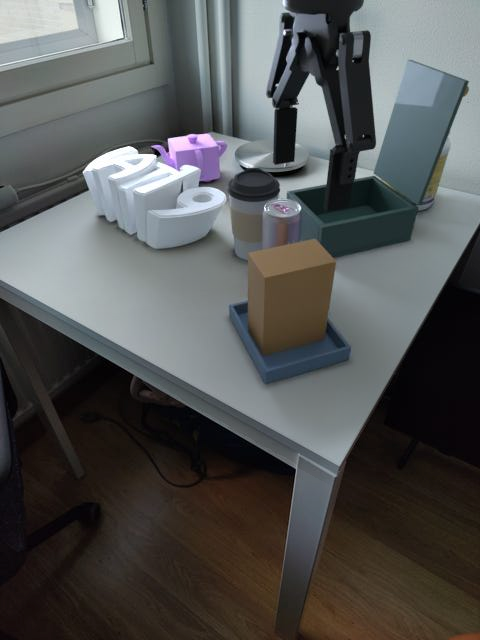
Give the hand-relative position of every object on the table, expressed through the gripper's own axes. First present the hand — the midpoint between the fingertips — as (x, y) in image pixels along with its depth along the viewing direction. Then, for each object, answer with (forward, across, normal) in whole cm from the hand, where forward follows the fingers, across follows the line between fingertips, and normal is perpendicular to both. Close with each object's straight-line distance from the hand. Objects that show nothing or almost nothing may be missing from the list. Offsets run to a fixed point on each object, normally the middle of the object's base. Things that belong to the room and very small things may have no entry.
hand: (307, 183), depth 55 cm
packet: (+24, 0, -2) cm, 24 cm away
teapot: (+24, -59, +1) cm, 64 cm away
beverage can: (+24, -11, +2) cm, 27 cm away
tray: (+24, +1, -2) cm, 24 cm away
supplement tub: (+24, -30, +42) cm, 57 cm away
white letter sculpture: (+24, -44, -12) cm, 51 cm away
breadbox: (+24, -23, +22) cm, 40 cm away
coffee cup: (+24, -23, +2) cm, 34 cm away
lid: (+6, -23, +34) cm, 41 cm away
